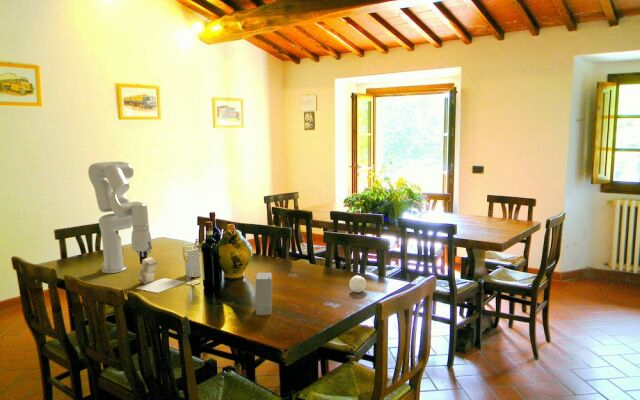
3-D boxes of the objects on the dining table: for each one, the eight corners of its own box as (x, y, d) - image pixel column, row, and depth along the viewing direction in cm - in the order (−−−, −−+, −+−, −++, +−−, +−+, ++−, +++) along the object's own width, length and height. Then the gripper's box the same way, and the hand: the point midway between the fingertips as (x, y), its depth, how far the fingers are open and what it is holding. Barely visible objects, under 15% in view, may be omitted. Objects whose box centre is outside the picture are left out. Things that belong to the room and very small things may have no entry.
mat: (135, 288, 230) (135, 288, 230) (164, 278, 246) (164, 277, 246) (157, 293, 223) (157, 292, 223) (185, 282, 239) (185, 281, 239)
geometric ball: (353, 298, 218) (343, 284, 218) (361, 287, 224) (351, 274, 224) (364, 293, 213) (353, 280, 213) (372, 283, 219) (361, 269, 218)
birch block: (138, 279, 238) (142, 259, 235) (146, 277, 243) (150, 256, 239) (145, 284, 236) (149, 264, 233) (153, 281, 241) (157, 261, 237)
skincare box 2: (256, 308, 201) (255, 272, 199) (273, 307, 202) (272, 271, 199) (255, 316, 193) (253, 278, 190) (273, 315, 193) (271, 277, 191)
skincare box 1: (201, 276, 248) (199, 249, 245) (189, 278, 244) (188, 250, 242) (195, 272, 254) (194, 246, 252) (184, 275, 251) (183, 247, 249)
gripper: (124, 228, 236) (127, 264, 239) (145, 230, 229) (148, 267, 231) (136, 225, 243) (139, 260, 245) (157, 227, 235) (160, 263, 238)
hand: (143, 263), depth 238 cm, fingers closed
